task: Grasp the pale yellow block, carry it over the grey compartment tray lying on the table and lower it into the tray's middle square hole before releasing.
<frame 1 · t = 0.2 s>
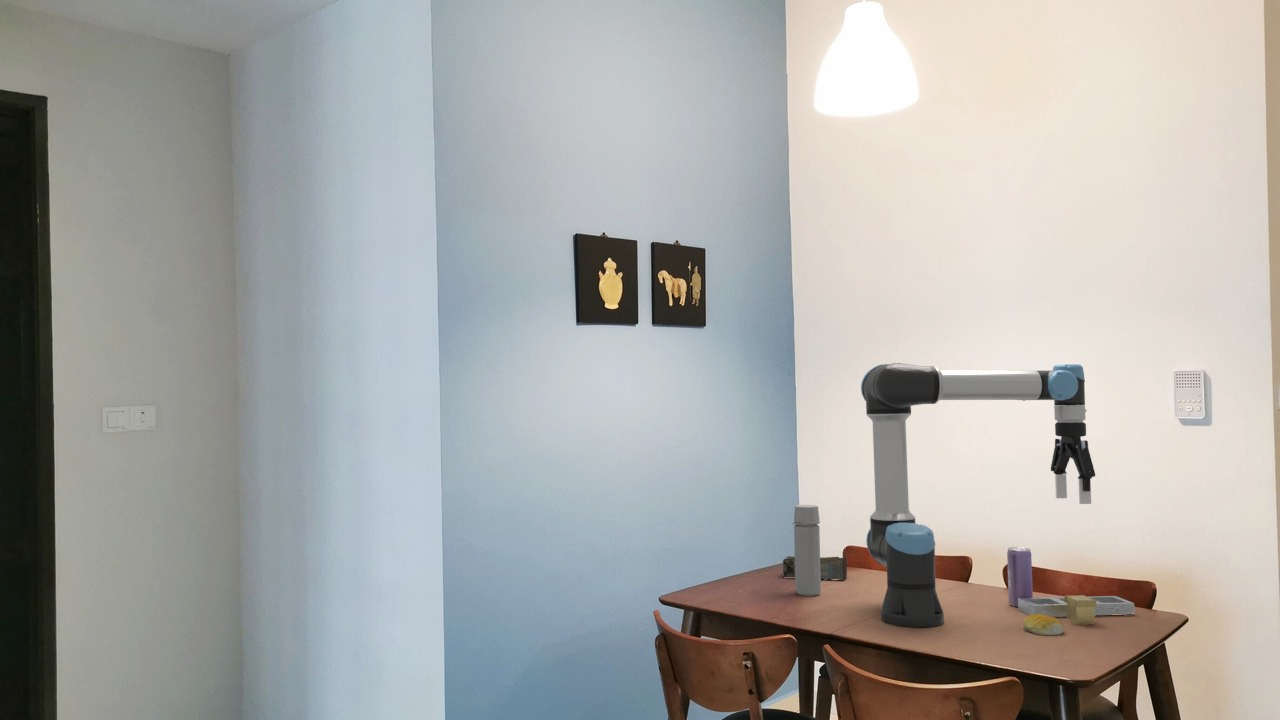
hand: (1073, 501, 243), 27 cm above the table, fingers open, 13 cm apart
beverage can: (1020, 606, 242), on the table
water bottle: (806, 594, 260), on the table
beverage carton: (815, 578, 283), on the table
grey compartment tray: (1075, 612, 233), on the table
bread roll: (1043, 632, 215), on the table
pale yellow block: (1081, 622, 223), on the table
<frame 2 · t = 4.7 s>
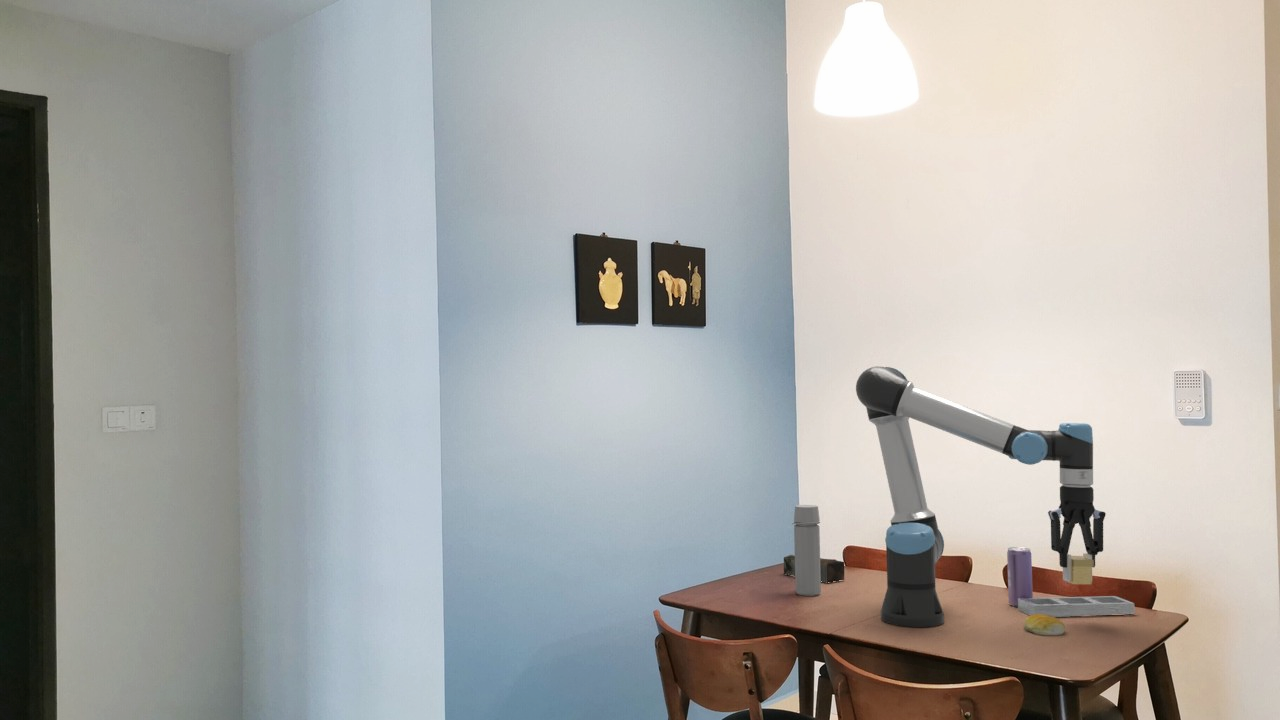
hand: (1077, 580, 223), 10 cm above the table, fingers closed on pale yellow block, 4 cm apart
pale yellow block: (1077, 582, 223), point 10 cm above the table, touching gripper
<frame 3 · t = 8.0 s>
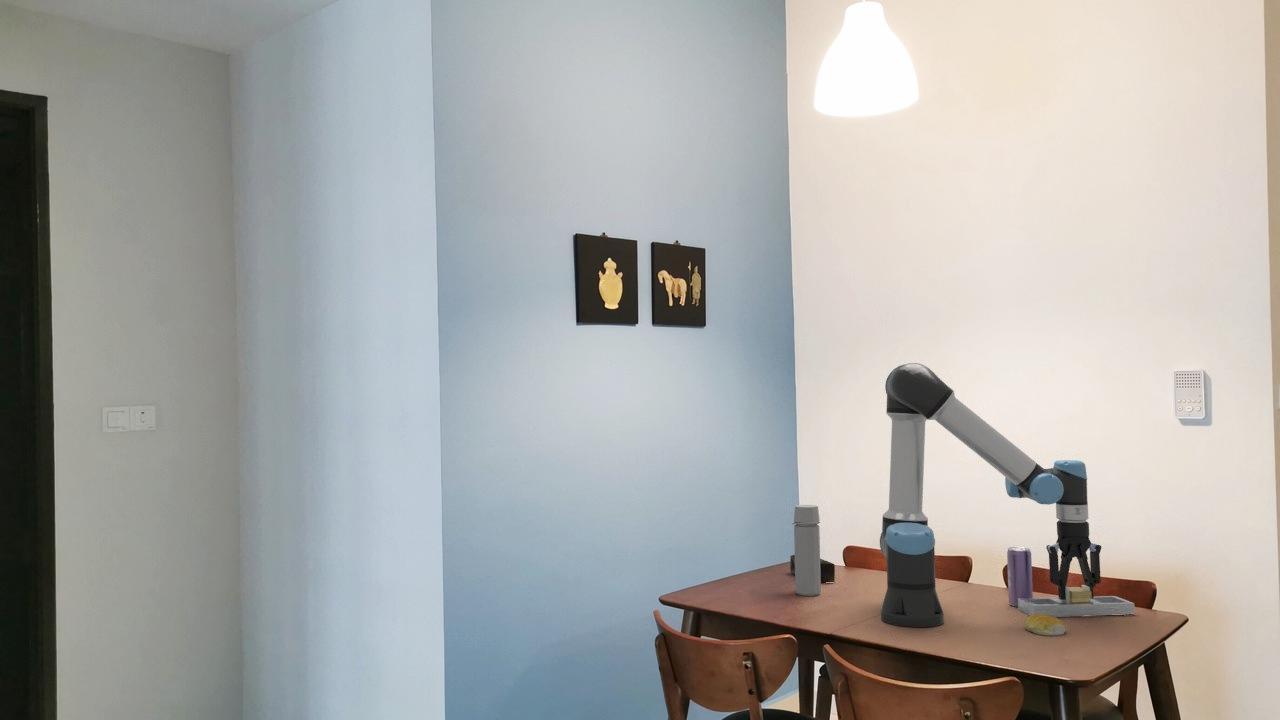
hand: (1076, 611, 233), 0 cm above the table, fingers open, 5 cm apart
pale yellow block: (1076, 612, 233), resting in grey compartment tray
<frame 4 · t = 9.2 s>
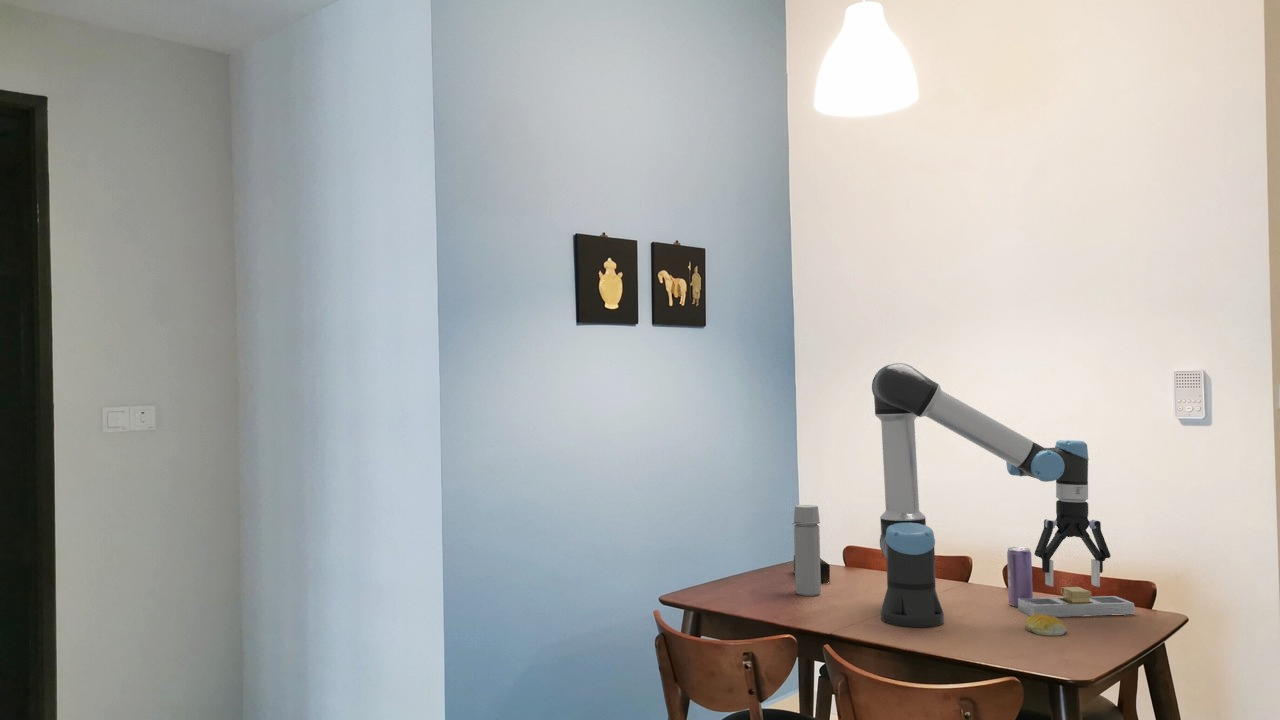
hand: (1072, 585, 233), 7 cm above the table, fingers open, 11 cm apart
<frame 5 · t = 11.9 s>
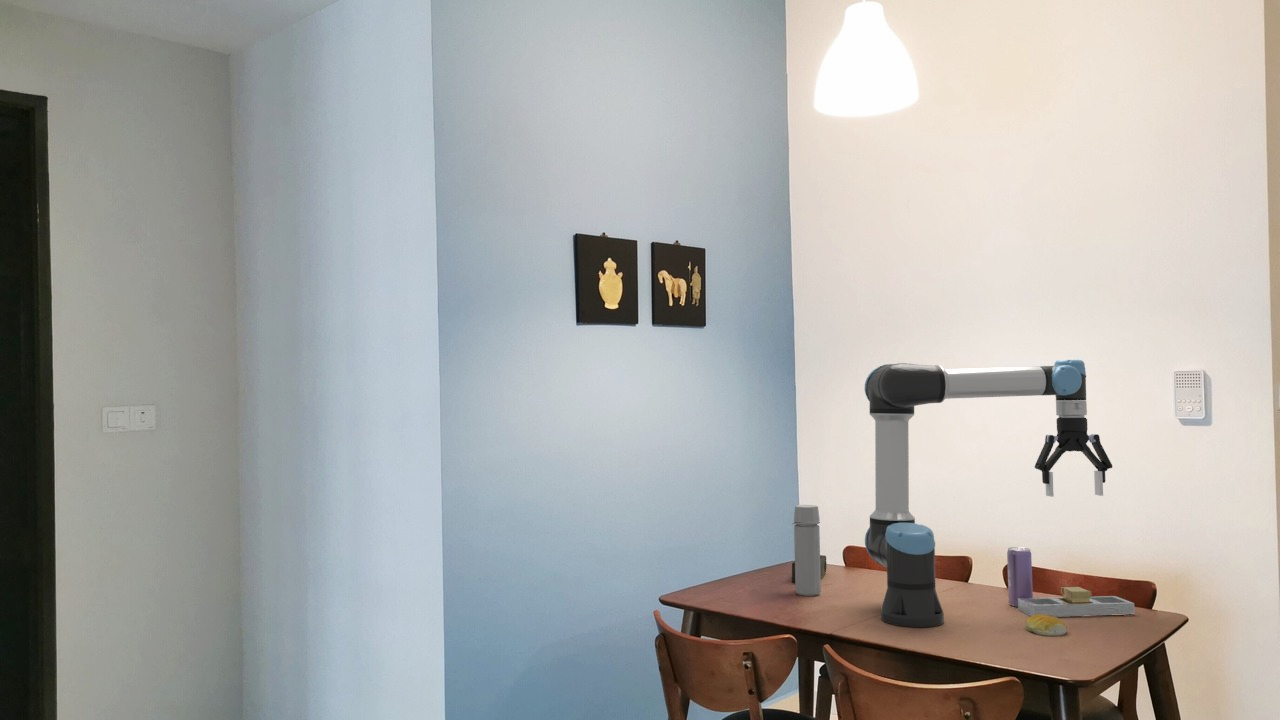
hand: (1074, 495, 244), 29 cm above the table, fingers open, 13 cm apart
at the end: pale yellow block 0.3 cm off-centre on the grey compartment tray, point 0.0 cm above the grey compartment tray's base; pale yellow block tilted 0°; the gripper is holding nothing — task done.
